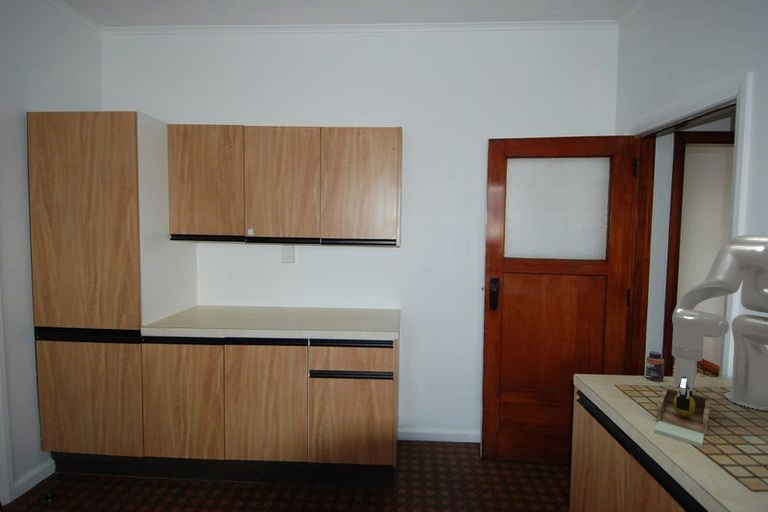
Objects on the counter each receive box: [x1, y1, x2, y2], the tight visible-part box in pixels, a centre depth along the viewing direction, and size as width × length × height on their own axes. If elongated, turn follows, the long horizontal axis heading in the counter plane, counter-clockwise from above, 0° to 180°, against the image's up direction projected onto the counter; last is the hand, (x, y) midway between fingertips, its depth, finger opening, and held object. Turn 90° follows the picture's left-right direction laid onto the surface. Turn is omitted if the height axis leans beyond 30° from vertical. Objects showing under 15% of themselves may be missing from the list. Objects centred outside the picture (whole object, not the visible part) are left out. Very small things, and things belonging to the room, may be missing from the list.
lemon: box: [673, 394, 695, 417], centre depth 118 cm, size 6×6×8 cm
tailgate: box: [654, 421, 705, 448], centre depth 108 cm, size 2×11×8 cm
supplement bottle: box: [645, 350, 665, 382], centre depth 150 cm, size 6×6×11 cm
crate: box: [655, 387, 711, 437], centre depth 118 cm, size 18×12×6 cm, turn 136°
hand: (684, 404), depth 117 cm, fingers open, 9 cm apart
